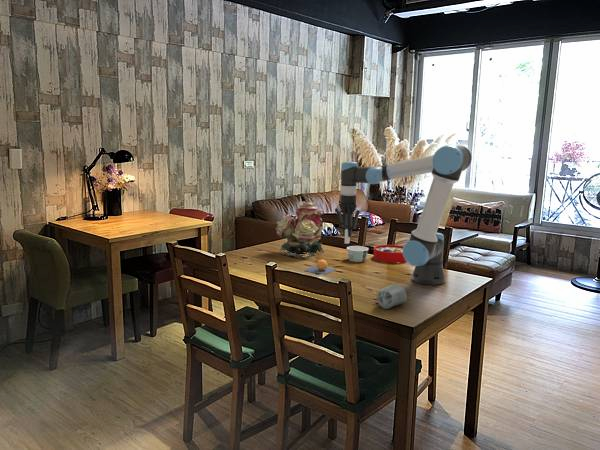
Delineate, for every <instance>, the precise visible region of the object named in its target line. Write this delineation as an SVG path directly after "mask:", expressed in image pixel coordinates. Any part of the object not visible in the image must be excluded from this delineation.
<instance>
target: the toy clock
mask: <svg viewBox="0 0 600 450" xmlns="http://www.w3.org/2000/svg"><path fill="white" fill-rule="evenodd" d="M403 247H404V245H398V244H380V245H376V246H374V247H373V259H374V260H375V261H378V262H381V261H383V263H389V264H398V263H397V262H402V263H403V264H404V263H408V262H407V261H406V260H405V258H404V256H403Z"/></svg>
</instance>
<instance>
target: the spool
mask: <svg viewBox="0 0 600 450" xmlns="http://www.w3.org/2000/svg"><path fill="white" fill-rule="evenodd" d="M407 298H408V296H407V292H406V290H405V288H404V287H403V286H402V285H399V284H392V285H388V286H386V287H383V288H382V289H379V290H378V291H377V293H376V299H377V302H378V305H379V306H380V307H381V308H382V309H384V310H389V309H390V308H393V307H395V306H400V305H402V304H405V303H406V301H407Z"/></svg>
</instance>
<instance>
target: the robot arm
mask: <svg viewBox="0 0 600 450" xmlns="http://www.w3.org/2000/svg"><path fill="white" fill-rule="evenodd" d="M472 158H473V157H472V153H471V150H469V148H467V146H465V145H461V144H446V145H443V146H441V147H439V148H438V149H437V150H436V151H435V152H434V154H431V155H426V156H422V157H416V158H413V159H406V160H402V161H398V162H393V163H389V164H388V163H387V164H383V165H377V166H376V165H375V166H358V162H357V161H343V162H342V163H341V165H340V166H341V170H340V194H341V195H340V200H339V201H340V204H339V206H338V207H336V208H334V211H335V213H336V216H337V221H338V227H339V228H340V229H342V236H343V237H344V244H347V245H348V244H350V242H351V241H350V240H351V239H350V237H352V231H353V230H355V229H356V228H357V225H358V220H359V216H360V214H361V212H362V210H361V209H359V208H358V206H357V195H356V194H357V184H358V183H361V184H368V185H369V184H370V185H378V184H381V183H382V182H386V181H391V180H396V179H401V178H407V177H413V176H419V175H424V174H429V173H431V175H432V177H433V179H432V180H431V185H430V188H429V191H428V194H427V197H426V200H425V202H424V206H423V208H422V212H421V214H420V218H419V219H418V223H417V227H416V229H414V230H411V234H410V236H409V238H408V239H409V240H408V241H407V242H406V243H405V244H404V245H403V246H404V247H403V256H404V258H405V260H406V261H407V262H406V263H407V264H408V265H409V264H410V265H411V266H412V267H414V269H413V271H412V275H411V276H412V277H411V280H412V281H413V282H416V283H418V284H423V285H429V286H430V285H434V286H435V285H441V284H445V283H446V275H445V274H446V273H445V270H444V267H443V261H444V260H443V258H444V245H445V235H444V234H443V233H441V232H438V229H439V227H440V225H441V224H440V223H441V221H442V217H443V215H444V213H445V212H444V211H445V209H446V206H447V203H448V201H449V198H450V195H451V194H452V193H451V192H452V190H453V186H454V184H455V183H457V182H459V181H460V178H461V175H462V173H463V172H464V171H465V170H466V169H468V168H469V166H470V165H471V163H472ZM380 182H381V183H380ZM354 212H355V214H354ZM353 215H354V216H353Z"/></svg>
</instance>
